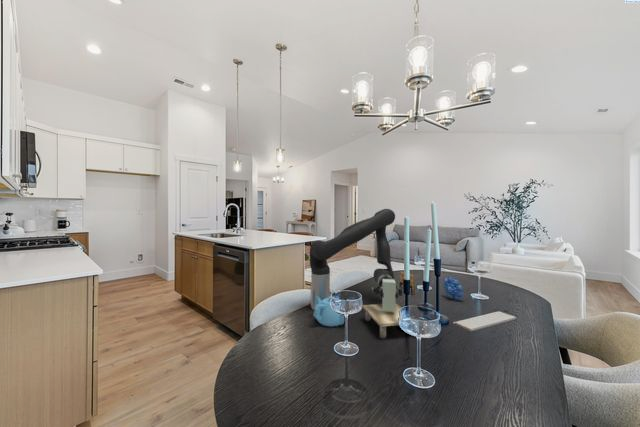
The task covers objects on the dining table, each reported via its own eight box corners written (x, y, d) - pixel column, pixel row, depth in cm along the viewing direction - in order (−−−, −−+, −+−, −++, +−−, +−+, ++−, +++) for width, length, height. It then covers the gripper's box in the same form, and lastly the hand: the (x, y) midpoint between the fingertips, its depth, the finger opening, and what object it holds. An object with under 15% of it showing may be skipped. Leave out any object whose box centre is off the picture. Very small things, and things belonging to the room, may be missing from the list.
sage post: (382, 311, 110) (383, 282, 110) (382, 306, 115) (382, 279, 115) (395, 312, 110) (395, 282, 109) (394, 307, 114) (394, 279, 114)
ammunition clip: (399, 290, 164) (399, 270, 164) (401, 289, 165) (401, 270, 165) (412, 295, 154) (412, 274, 154) (414, 294, 155) (414, 274, 155)
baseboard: (450, 323, 118) (471, 332, 109) (450, 316, 118) (471, 326, 109) (493, 312, 130) (516, 320, 121) (494, 306, 130) (516, 314, 121)
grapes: (438, 297, 150) (438, 276, 150) (445, 295, 154) (445, 274, 154) (458, 303, 140) (459, 280, 140) (465, 301, 144) (465, 279, 144)
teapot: (315, 313, 127) (315, 291, 126) (347, 314, 126) (347, 291, 126) (313, 328, 111) (313, 302, 111) (349, 329, 110) (349, 303, 110)
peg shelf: (380, 339, 101) (380, 324, 101) (362, 318, 121) (362, 305, 121) (419, 336, 104) (419, 320, 104) (395, 316, 124) (395, 303, 124)
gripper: (370, 275, 128) (371, 285, 111) (402, 276, 125) (407, 287, 108) (370, 291, 128) (371, 303, 111) (401, 292, 125) (407, 305, 109)
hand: (389, 295), depth 110 cm, fingers closed on sage post, 4 cm apart
